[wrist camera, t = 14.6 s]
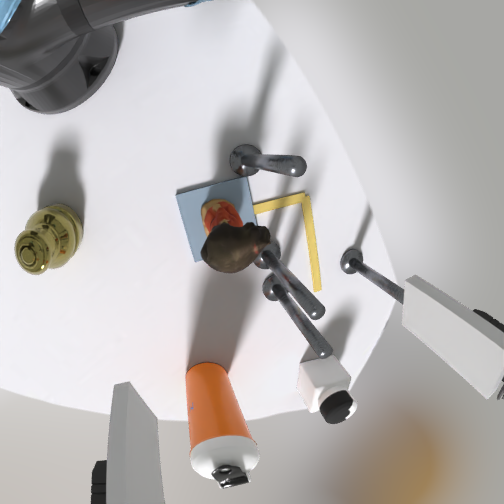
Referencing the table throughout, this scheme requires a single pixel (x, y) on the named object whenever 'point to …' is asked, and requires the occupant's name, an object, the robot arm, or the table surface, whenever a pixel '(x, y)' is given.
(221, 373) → the shaker bottle
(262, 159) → the gate
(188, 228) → the pad
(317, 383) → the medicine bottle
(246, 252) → the figurine
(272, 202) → the guide line
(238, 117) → the table surface
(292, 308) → the gate
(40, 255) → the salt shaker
